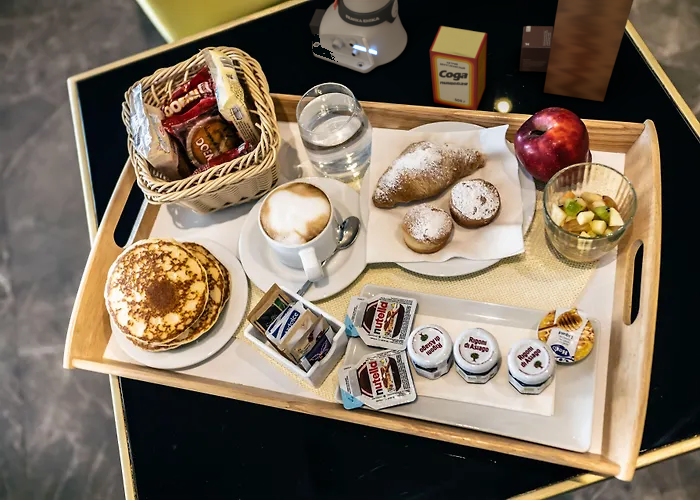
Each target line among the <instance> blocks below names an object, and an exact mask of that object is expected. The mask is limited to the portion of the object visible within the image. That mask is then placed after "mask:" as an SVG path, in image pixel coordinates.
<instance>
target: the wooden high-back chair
mask: <svg viewBox="0 0 700 500" xmlns="http://www.w3.org/2000/svg"><path fill="white" fill-rule="evenodd" d="M557 1H558V2H557V7H556V12H555V13H556V14H555V20H554V26H553V38H552V44H551V50H550V56H549V62H548V68H547V72H546V75H545V80H544V81H545V82H544V87H543V93H546V94H550V95H551V94H552V95H558V96H564V97H570V98H577V99H584V100H591V101H597V102H604V101H605V97H606V93H607V90H608V87H609V83H610V80H611V76H612V73H613V69H614V68H615V67H614V66H615V65H616V64H615V63H616V60H617V57H618V53H619V50H620V47H621V43H622V39H623V36H624V34H625V30H626V27H627V23H628V20H629V17H630V13H631V10H632V7H633V3H634V0H557Z"/></svg>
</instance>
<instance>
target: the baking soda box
mask: <svg viewBox="0 0 700 500" xmlns="http://www.w3.org/2000/svg"><path fill="white" fill-rule="evenodd" d="M487 45H488V33H486V32H480V31H473V30H469V29H461V28H455V27H449V26H444V25H440V26H439V28H438V31H437V33H436V34H435V37H434V40H433V42H432V44H431V46H430V49H429V58H430V59H429V60H430V61H429V62H430V71H431V82H432V83H431V84H432V94H433V95H432V96H433V103H435V104H436V103H437V104H440V105H446V106H451V107H456V108H461V109H465V110H471V111H475V110H476V111H478V108H479V105H480V103H481V100H482V97H483V95H484V93H485V90H486V87H487V86H486V85H487V84H486V83H487V82H486V80H487V51H488V50H487V49H488V46H487Z"/></svg>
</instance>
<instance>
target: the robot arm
mask: <svg viewBox="0 0 700 500" xmlns="http://www.w3.org/2000/svg"><path fill="white" fill-rule="evenodd" d="M309 28H310V32H311V34H312V35H315V34H317V35H319V38H320V43H319V42H315V43H314V44H313V43H312V47H313V46H314V47H318V46H319V45H321V47H322V48H325V49H327V50H329V51H331V52H333V53H331V52H330V54H331V57H332V56H334V57H335V58H334V57H332V59H333V58H334V60H335V61H334V60H331V59H329V58H326V57H323V56H320V55H317V54H315V53H314V52H313V51H312V53H313V56H314V57H316V58H319V59H321V60H324V61H327V62H330V63H333V64H336V65H339V66H341V67H345V68H348V69H351V70H353V71H356V72H359V73H362V74H368V73H369V72H371V71H372V70H374V69H375V68H377V67H379V66H383V65H386V64H387V63H390V62H392V61H393V60H395V59H397V58H398V57H399V56H400V55H401V54H402V53H403V52H404V50H405V48H406V46H407V43H408V34H407V32H406V30H405V27H404V26H403V24H402V21H401V18H400V16H399V4H398V0H334V2H332V3H331V4H330V5H329V7H328V8H327V9H320V8H316V9H315V11H314V13H313V16H312V18H311V20H310V22H309ZM323 54H325V53H323ZM337 61H338V62H337Z"/></svg>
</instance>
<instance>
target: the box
mask: <svg viewBox="0 0 700 500" xmlns="http://www.w3.org/2000/svg"><path fill="white" fill-rule="evenodd" d="M553 31H554V26H549V25H548V26H546V25H545V26H541V25H540V26H539V25H538V26H537V25H534V26H533V25H527V26H526V25H525V26H523V31H522V41H521V47H520V57H519V69H518V70H519V72H538V73H539V72H544V73H547V68H548V62H549V56H550V50H551V44H552V38H553Z"/></svg>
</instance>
